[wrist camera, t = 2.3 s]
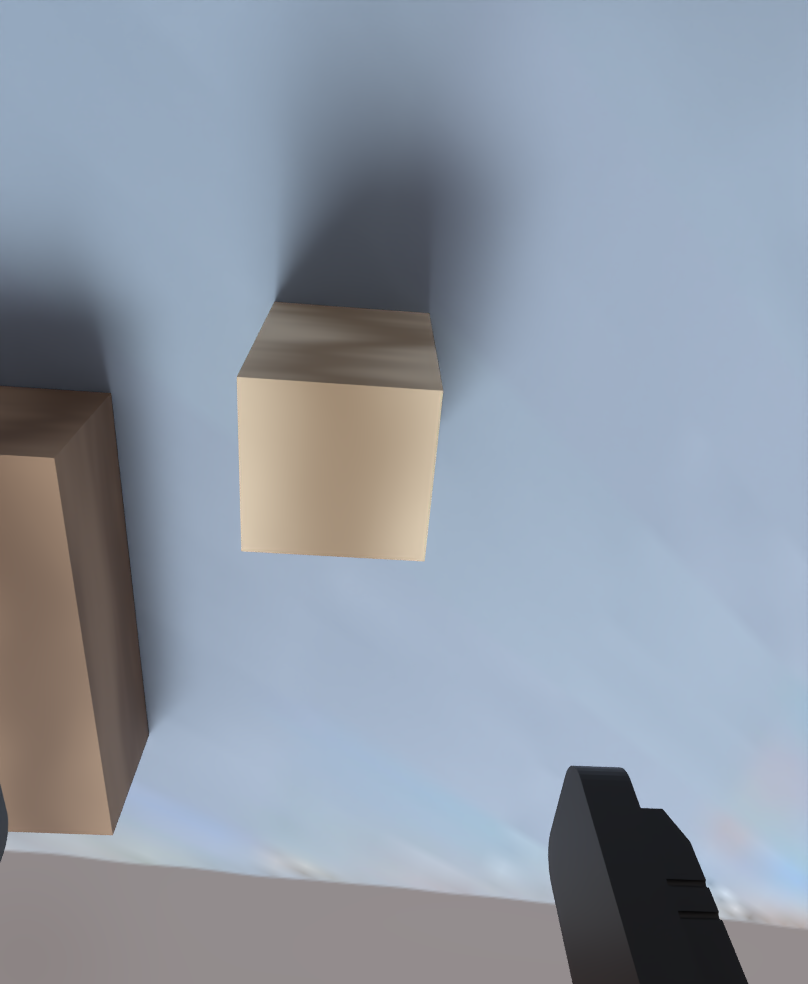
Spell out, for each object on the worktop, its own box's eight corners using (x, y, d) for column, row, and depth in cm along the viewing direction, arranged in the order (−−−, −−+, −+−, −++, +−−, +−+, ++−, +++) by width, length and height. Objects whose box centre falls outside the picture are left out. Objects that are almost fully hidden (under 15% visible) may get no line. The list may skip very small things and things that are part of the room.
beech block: (429, 312, 25) (443, 390, 19) (415, 451, 27) (424, 561, 21) (274, 301, 25) (237, 376, 18) (274, 442, 27) (241, 551, 21)
